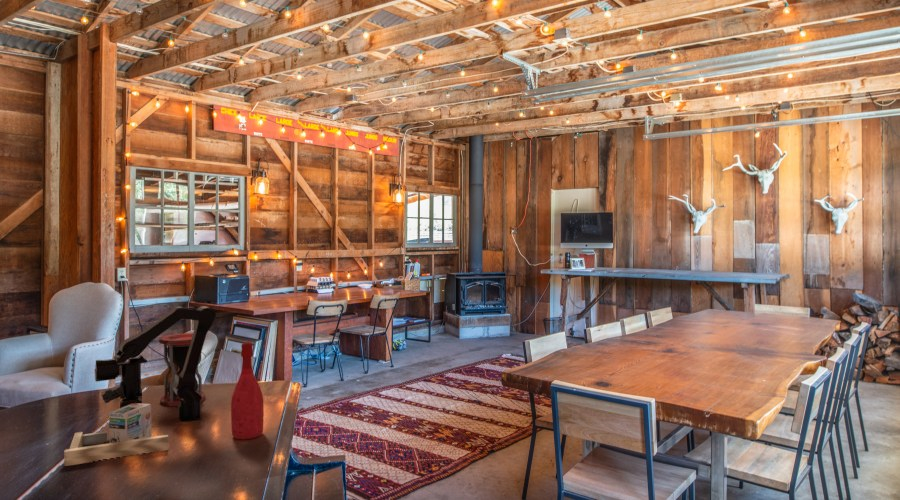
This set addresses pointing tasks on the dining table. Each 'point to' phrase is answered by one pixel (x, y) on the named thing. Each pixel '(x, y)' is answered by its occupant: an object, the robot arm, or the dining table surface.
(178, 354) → the hourglass
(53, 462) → the dining table surface
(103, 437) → the lip
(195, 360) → the robot arm
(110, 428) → the light bulb box
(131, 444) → the wall board
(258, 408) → the wine bottle
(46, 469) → the dining table surface
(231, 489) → the dining table surface
